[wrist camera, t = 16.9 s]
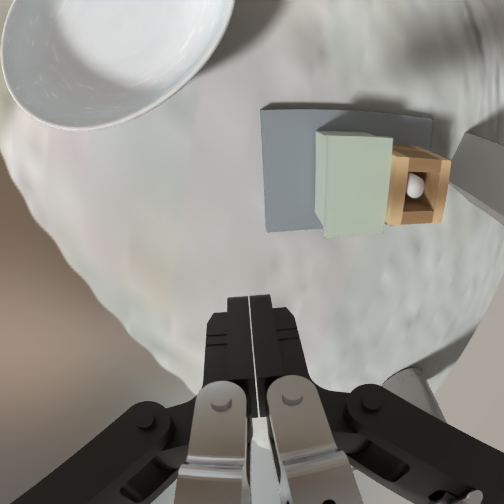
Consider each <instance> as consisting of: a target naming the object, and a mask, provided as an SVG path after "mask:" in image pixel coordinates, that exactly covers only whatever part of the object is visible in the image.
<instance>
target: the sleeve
mask: <svg viewBox="0 0 504 504" xmlns="http://www.w3.org/2000/svg"><path fill="white" fill-rule="evenodd" d="M450 168H451V160H449V159H447V158H444V157H442V156H440V155H438V154H435V153H433V152H431V151H429V150H426V149H424V148H421V147H419V146H415V145H402V144H393V146H392V160H391V172H390V183H389V192H388V201H387V209H386V217H385V221H386V222H387V223H388V224H389V225H401V224H420V223H439V222H441V221H442V216H443V211H444V206H445V201H446V195H447V189H448V182H449V176H450ZM408 172H411V173H413V174H415V175H417V176H418V177H420V178H422V179H423V181H424V184H425V188H424V192H423V193H422V195H421V196H419V197H418V198H412V197H410V196H409V195H407V194H406V185H407V176H408Z"/></svg>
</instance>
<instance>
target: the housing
mask: <svg viewBox="0 0 504 504" xmlns="http://www.w3.org/2000/svg"><path fill="white" fill-rule="evenodd" d="M392 146H393V138H391V137H384V136H374V135H372V134H369V133H366V132H344V131H316V173H315V213H316V215H317V217H318V218H319V220H320V221H321V223H322V225H323V235H324V237H325V238H326V237H340V236H353V235H367V234H381V233H383V230H384V224H385V217H386V209H387V201H388V192H389V183H390V172H391V160H392Z"/></svg>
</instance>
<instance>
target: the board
mask: <svg viewBox="0 0 504 504" xmlns="http://www.w3.org/2000/svg"><path fill="white" fill-rule="evenodd" d="M260 116H261V134H262V153H263V174H264V195H265V218H266V230H267V232H279V231H293V230H307V229H321V228H323V225H322V223H321V221H320V220H319V218H318V217H317V215H316V213H315V173H316V131H344V132H366V133H369V134H372V135H374V136H384V137H391V138H393V144H402V145H415V146H419V147H421V148H424V149H426V150H429V151H431V140H432V125H433V119H429V118H424V117H417V116H409V115H401V114H392V113H383V112H371V111H357V110H338V109H267V110H260ZM424 188H425V184H424V181H423V179H422V178H420V177H418V176H417V175H415V174H413V173H411V172H408V176H407V185H406V194H407V195H409V196H410V197H412V198H418V197H419V196H421V195H422V193H423V192H424ZM385 224H388V223H387V222H386V221H385Z"/></svg>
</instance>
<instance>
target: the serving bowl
mask: <svg viewBox="0 0 504 504" xmlns="http://www.w3.org/2000/svg"><path fill="white" fill-rule="evenodd" d="M235 2H236V0H13V2H12V5H11V7H10V9H9V12H8V15H7V18H6V21H5V24H4V28H3V34H2V39H1V65H2V71H3V75H4V79H5V82H6V85H7V87H8V89H9V91H10V93H11V95H12V97H13V99H14V100H15V101H16V103H17V104H18V105H19V106H20V107H21V108H22V109H23V110H24V111H25V112H26V113H27V114H28V115H29V116H31V117H32V118H34V119H35V120H37V121H39V122H41V123H43V124H45V125H47V126H50V127H53V128H57V129H61V130H69V131H92V130H99V129H104V128H109V127H112V126H116V125H119V124H122V123H125V122H127V121H130V120H132V119H134V118H137V117H139V116H141V115H143V114H145V113H147V112H149V111H150V110H152V109H154V108H156V107H157V106H159V105H160V104H162V103H163V102H165V101H166V100H168V99H169V98H170V97H172V96H173V95H174V94H176V93H177V92H178V91H179V90H181V89H182V88H183V87H184V86H185V85H186V84H187V83H188V82H189V81H190V80H191V79H192V78H193V77H194V76H195V75H196V74H197V73H198V72H199V71H200V70H201V69H202V68H203V66H204V65H205V64H206V63H207V62H208V60H209V59H210V57H211V56H212V55H213V53H214V52H215V50H216V49H217V47H218V46H219V44H220V42H221V40H222V38H223V37H224V35H225V33H226V30H227V28H228V26H229V23H230V20H231V17H232V15H233V11H234V7H235Z"/></svg>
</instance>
